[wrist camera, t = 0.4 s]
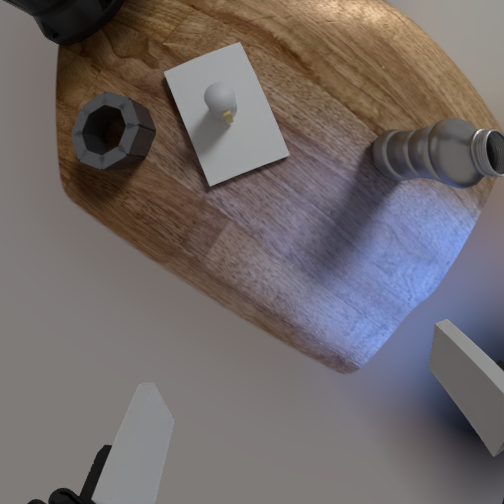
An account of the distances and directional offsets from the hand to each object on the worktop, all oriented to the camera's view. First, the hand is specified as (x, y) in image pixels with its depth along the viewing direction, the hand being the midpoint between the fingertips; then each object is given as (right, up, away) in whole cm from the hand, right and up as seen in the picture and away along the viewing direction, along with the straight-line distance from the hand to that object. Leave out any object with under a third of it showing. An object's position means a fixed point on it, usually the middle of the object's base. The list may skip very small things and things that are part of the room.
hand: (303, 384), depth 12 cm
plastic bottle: (+16, +18, +22) cm, 33 cm away
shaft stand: (-5, +23, +21) cm, 31 cm away
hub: (-19, +21, +21) cm, 35 cm away
